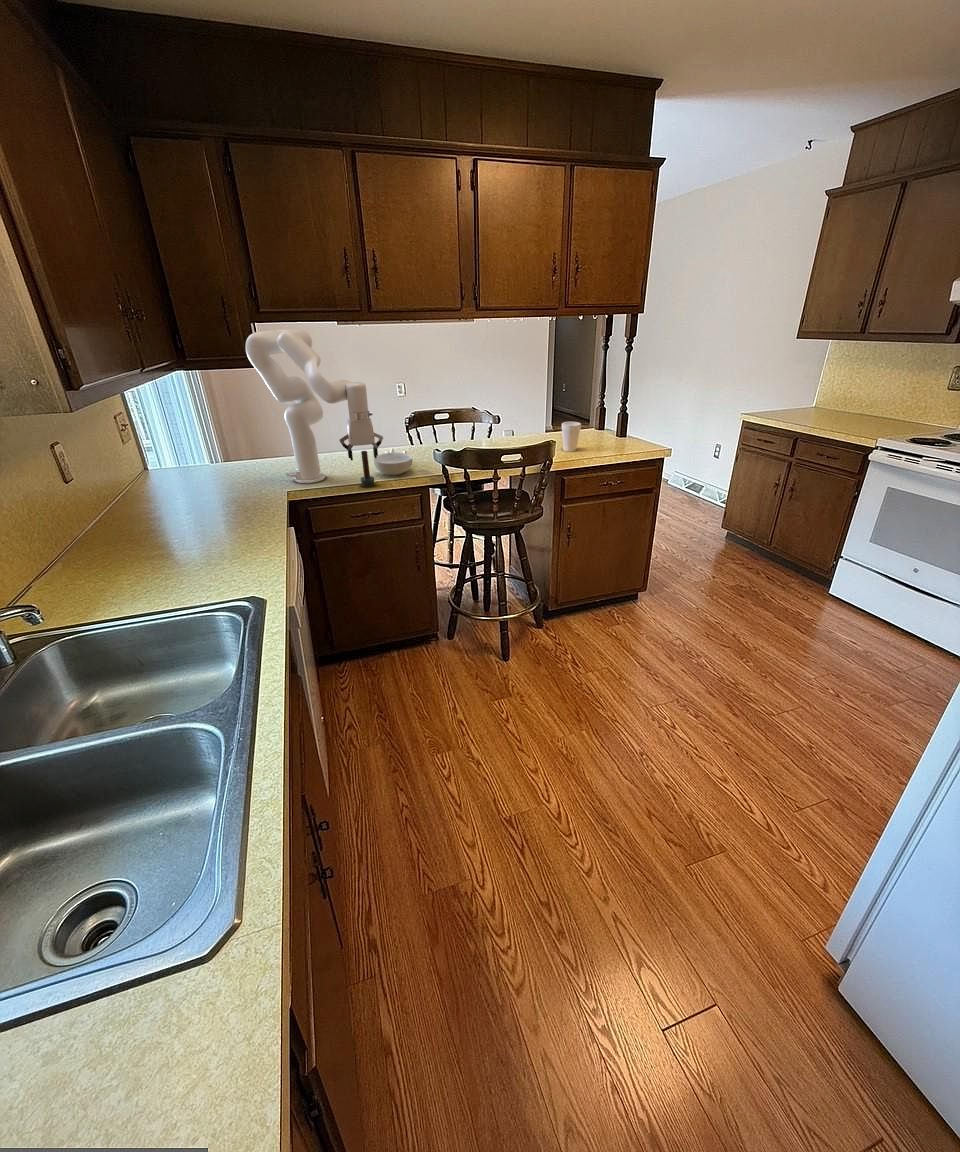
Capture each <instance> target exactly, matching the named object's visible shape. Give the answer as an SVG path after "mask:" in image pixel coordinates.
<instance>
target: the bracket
mask: <svg viewBox="0 0 960 1152" xmlns="http://www.w3.org/2000/svg"><path fill="white" fill-rule="evenodd" d="M385 453H396V452H395V449H394V447H390V450H389V451H388V450H385V452H384V454H385ZM402 453H406V454H408V451H407V450H406V449H403V451H402Z"/></svg>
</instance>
